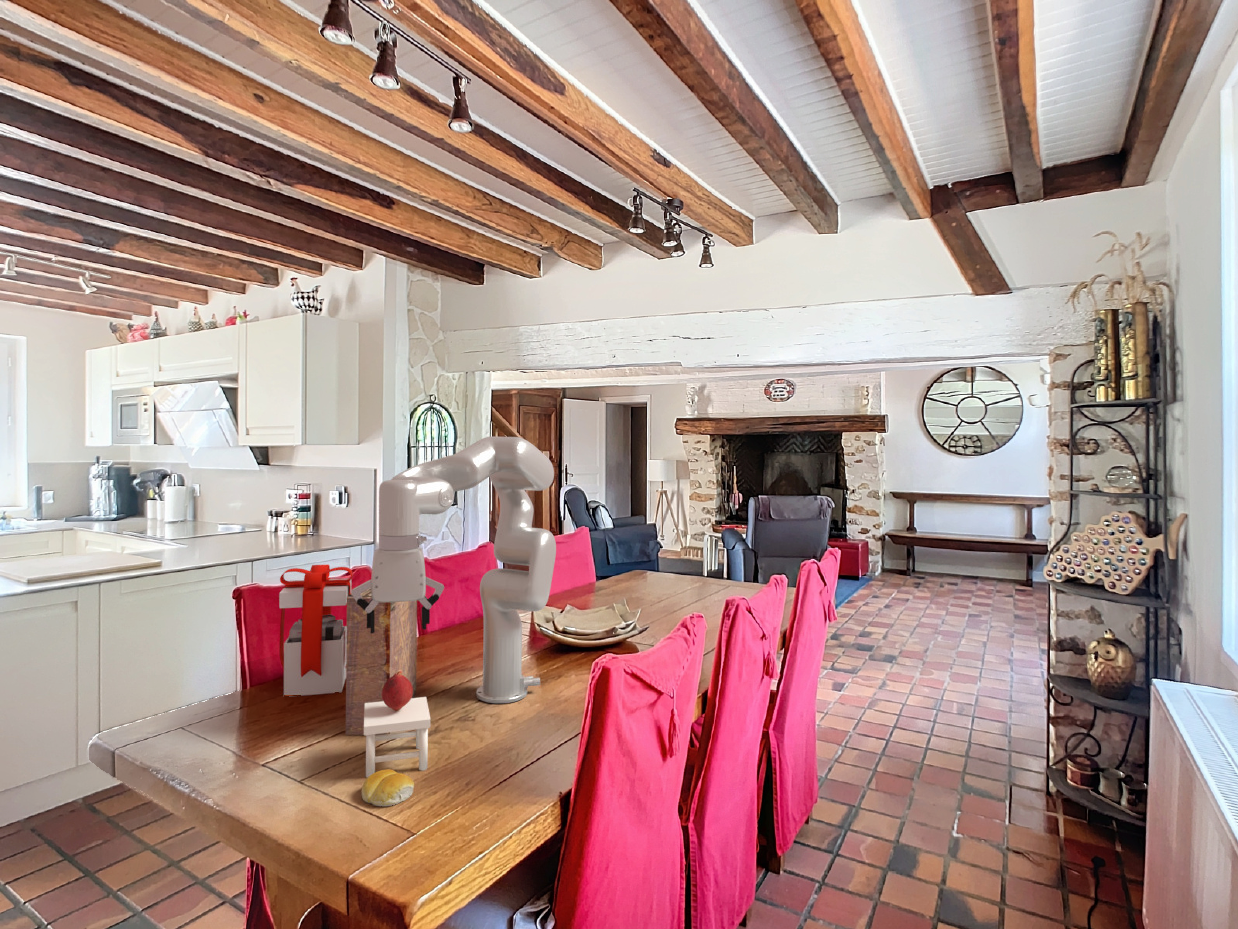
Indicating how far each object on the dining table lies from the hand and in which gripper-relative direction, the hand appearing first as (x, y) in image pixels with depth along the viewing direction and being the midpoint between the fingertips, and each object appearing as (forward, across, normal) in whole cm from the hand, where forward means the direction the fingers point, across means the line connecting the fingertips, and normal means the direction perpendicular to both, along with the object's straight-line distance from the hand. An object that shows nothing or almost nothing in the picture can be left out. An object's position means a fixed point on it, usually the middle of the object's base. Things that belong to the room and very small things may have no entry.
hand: (398, 629), depth 134 cm
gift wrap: (+26, +18, -49) cm, 58 cm away
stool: (+26, 0, 0) cm, 26 cm away
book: (+26, +2, -26) cm, 37 cm away
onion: (+16, 0, 0) cm, 16 cm away
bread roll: (+27, +2, +13) cm, 30 cm away
